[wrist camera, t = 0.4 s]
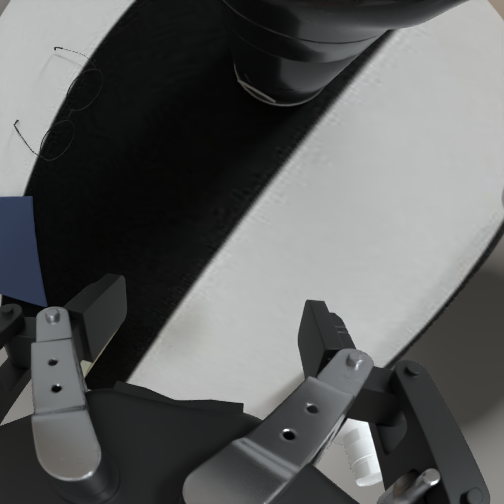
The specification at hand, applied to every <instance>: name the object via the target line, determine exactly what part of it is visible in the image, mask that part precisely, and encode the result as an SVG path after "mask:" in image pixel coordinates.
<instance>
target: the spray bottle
mask: <svg viewBox="0 0 504 504" xmlns="http://www.w3.org/2000/svg"><path fill="white" fill-rule="evenodd" d="M333 442H334V443H336V444H340V445H344V446H345V451H346V454H347V455H348V460H349V464H350V468H351V469H352V471H353V473H354V475H355V479H356V483H357V484H358V485H359V486H368V485H372V484H375V483H378V482H380V481H382V480H383V479H382V475H381V471H380V467H379V463H378V459H377V455H376V451H375V447H374V443H373V440H372V436H371V432H370V429H369V425H368V422H363V421H358V420H353V419H348V420H347V421H346V423H345V424H344V426H343V427H342V429H341V430H340V432H339V433H338V435H337V436H336V438H335V439H334V441H333Z"/></svg>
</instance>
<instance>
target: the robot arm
mask: <svg viewBox="0 0 504 504" xmlns="http://www.w3.org/2000/svg"><path fill="white" fill-rule="evenodd" d="M467 1H469V0H218V2H219V5H220V9H221V13H222V16H223V20H224V24H225V28H226V32H227V36H228V40H229V44H230V48H231V52H232V56H233V61H234V69H235V73H236V76H237V79H238V82H239V83H240V84H241V86H242V87H243V89H244V90H245V91H246V92H247V93H248V94H249V95H251V96H252V97H253V98H255V99H256V100H258V101H260V102H262V103H265V104H268V105H271V106H276V107H293V106H298V105H301V104H304V103H306V102H308V101H310V100H311V99H313V98H314V97H316V96H317V95H318V94H319V93H320V92H321V91H322V89H323V88H324V87H325V86H326V85H327V84H328V83H329V82H330V81H331V80H332V79H333V78H334V77H335V76H336V75H338V74H339V73H340V72H341V71H342V70H343V69H344V68H345V67H346V66H347V65H348V64H349V63H351V62H352V61H353V60H354V59H355V58H356V57H357V56H358V55H359V54H361V53H362V52H363V51H364V50H365V49H366V48H367V47H368V46H369V45H370V44H372V43H373V42H374V41H375V40H376V39H377V38H378V37H380V36H381V35H382V34H383V33H384V32H385V31H387V30H388V29H400V28H407V27H411V26H416V25H418V24H421V23H424V22H426V21H428V20H430V19H432V18H434V17H436V16H438V15H440V14H442V13H444V12H446V11H448V10H450V9H452V8H454V7H456V6H458V5H460V4H462V3H465V2H467ZM126 313H127V302H126V287H125V278H124V276H121V275H115V274H109V273H108V274H106V275H105V276H104V277H103V278H101V279H100V280H99V281H98V282H95V283H93V284H90V285H88V286H87V287H85V288H84V289H83V290H82V291H81V292H80V293H78V294H77V296H75V297H74V298H73V299H72V300H71V301H69V302H68V303H67V304H66V305H65V306H64V307H63V308H62V307H49V308H46V309H44V310H42V311H40V312H39V313H38V315H37V318H33V317H24V315H23V311H22V308H21V307H20V306H19V305H17V304H7V305H4V306H1V307H0V350H1V349H2V348H3V347H5V350H6V352H7V355H8V358H7V360H6V361H5V362H4V363H3V364H2V365H1V367H0V424H1V422H2V421H3V419H4V417H5V416H6V414H7V413H8V411H9V410H10V408H11V407H12V405H13V404H14V402H15V401H16V399H17V398H18V396H19V395H20V394H21V392H22V391H23V389H24V388H25V386H26V385H27V384H28V382H29V381H30V379H31V378H32V394H33V406H34V413H33V414H31V415H28V416H26V417H23V418H21V419H18V420H15V421H13V422H10V423H7V424H4V425H2V426H0V504H359V503H358V502H357V501H356V500H354V499H353V498H352V497H350V496H349V495H348V494H347V493H346V492H344V491H343V490H342V489H341V488H339V487H338V486H337V485H336V484H335V483H333V482H332V481H331V480H330V479H329V478H327V477H326V476H325V475H324V474H323V473H322V472H320V471H319V470H318V469H317V468H316V465H317V464H318V462H319V461H320V460H321V458H322V457H323V455H324V454H325V452H326V451H327V449H328V448H329V446H330V445H331V444H332V442H333V441H334V439H335V438H336V436H337V435H338V433H339V432H340V430H341V429H342V427H343V426H344V424H345V423H346V421H347V420H348V419H353V420H358V421H363V422H368V425H369V429H370V432H371V436H372V440H373V443H374V447H375V451H376V455H377V459H378V463H379V467H380V471H381V475H382V479H383V483H384V488H385V492H384V493H383V494H382V495H381V496H380V497H379V499H378V501H377V504H490V494H489V491H488V488H487V486H486V484H485V481H484V479H483V477H482V474H481V472H480V470H479V468H478V465H477V463H476V461H475V459H474V457H473V455H472V453H471V451H470V449H469V446H468V444H467V443H466V440H465V438H464V436H463V434H462V433H461V431H460V429H459V427H458V425H457V423H456V421H455V419H454V417H453V415H452V414H451V412H450V410H449V408H448V406H447V405H446V403H445V401H444V399H443V397H442V396H441V394H440V392H439V390H438V388H437V387H436V385H435V383H434V382H433V380H432V378H431V377H430V375H429V373H428V372H427V370H426V369H425V368H424V367H423V366H422V365H420V364H419V363H416V362H413V361H409V360H403V361H399V362H398V363H397V364H396V365H395V367H394V370H389V369H384V368H379V367H375V366H374V363H373V360H372V358H371V357H370V356H369V355H368V354H366V353H365V352H362V351H360V350H357V349H356V347H355V345H354V343H353V341H352V339H351V337H350V335H349V334H348V331H347V329H346V328H345V324H344V322H343V320H342V319H341V318H340V317H339V316H337V315H336V314H335V313H329V311H328V308H327V306H326V304H325V302H324V301H317V300H306V303H305V306H304V311H303V315H302V319H301V324H300V328H299V333H298V346H299V351H300V356H301V361H302V366H303V371H304V376H305V380H304V381H303V382H302V383H301V384H300V385H299V386H298V387H297V388H296V389H295V390H294V391H293V392H292V393H291V394H290V395H289V396H288V397H287V398H286V399H285V400H284V401H283V402H282V403H281V404H280V405H279V406H278V407H277V408H276V409H275V410H274V411H273V412H272V413H271V414H270V415H268V416H267V417H266V418H265V419H264V420H261V419H259V418H257V417H254V416H252V415H249V414H246V413H243V406H244V403H235V402H226V401H218V400H174V399H171V398H168V397H166V396H164V395H161V394H159V393H156V392H154V391H152V390H150V389H147V388H144V387H140V386H136V385H132V384H128V383H124V382H120V381H117V382H116V384H115V386H114V388H113V389H97V390H92V391H88V390H87V387H86V383H85V379H84V375H83V371H82V367H81V364H80V363H81V362H82V360H84V361H87V362H91V363H94V362H95V360H96V359H97V357H98V356H99V354H100V353H101V352H102V350H103V349H104V347H105V346H106V344H107V343H108V342H109V340H110V339H111V337H112V336H113V335H114V333H115V332H116V331H117V329H118V328H119V326H120V325H121V324H122V322H123V321H124V319H125V317H126ZM405 419H406V420H405Z"/></svg>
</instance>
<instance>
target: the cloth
mask: <svg viewBox="0 0 504 504" xmlns="http://www.w3.org/2000/svg"><path fill="white" fill-rule="evenodd" d="M0 294H2V295H5V296H9V297H12V298H15V299H19V300H22V301H25V302H29V303H32V304H36V305H40V306H43V307H47V306H48V305H47V300H46V296H45V291H44V286H43V281H42V276H41V270H40V264H39V258H38V251H37V244H36V236H35V226H34V214H33V198H32V196H27V197H0Z"/></svg>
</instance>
